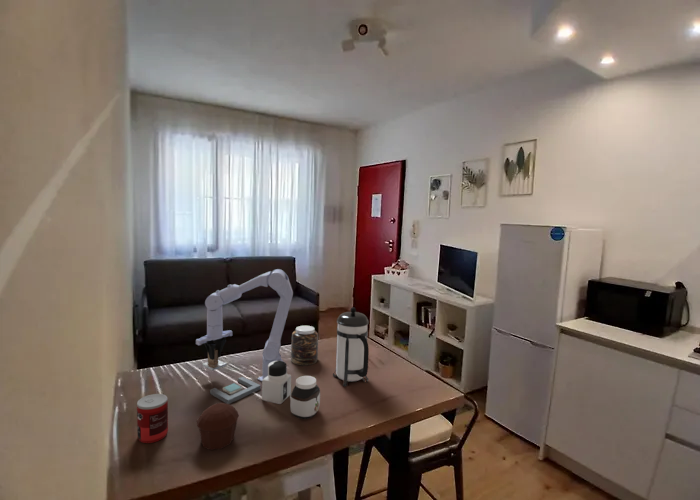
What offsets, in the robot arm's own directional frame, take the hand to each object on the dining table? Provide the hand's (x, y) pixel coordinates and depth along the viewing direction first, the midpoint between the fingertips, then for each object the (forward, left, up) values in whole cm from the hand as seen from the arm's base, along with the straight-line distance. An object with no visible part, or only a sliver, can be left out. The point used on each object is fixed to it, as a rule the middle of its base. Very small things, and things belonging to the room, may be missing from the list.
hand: (214, 357), depth 137 cm
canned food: (-17, +31, -9) cm, 37 cm away
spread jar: (-41, -7, -9) cm, 43 cm away
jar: (-13, -37, -9) cm, 40 cm away
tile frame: (-12, 0, -9) cm, 15 cm away
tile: (-12, 0, -10) cm, 15 cm away
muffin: (-33, +20, -9) cm, 40 cm away
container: (-28, -7, -9) cm, 30 cm away
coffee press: (-41, -36, -9) cm, 55 cm away
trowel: (0, 0, -3) cm, 3 cm away
